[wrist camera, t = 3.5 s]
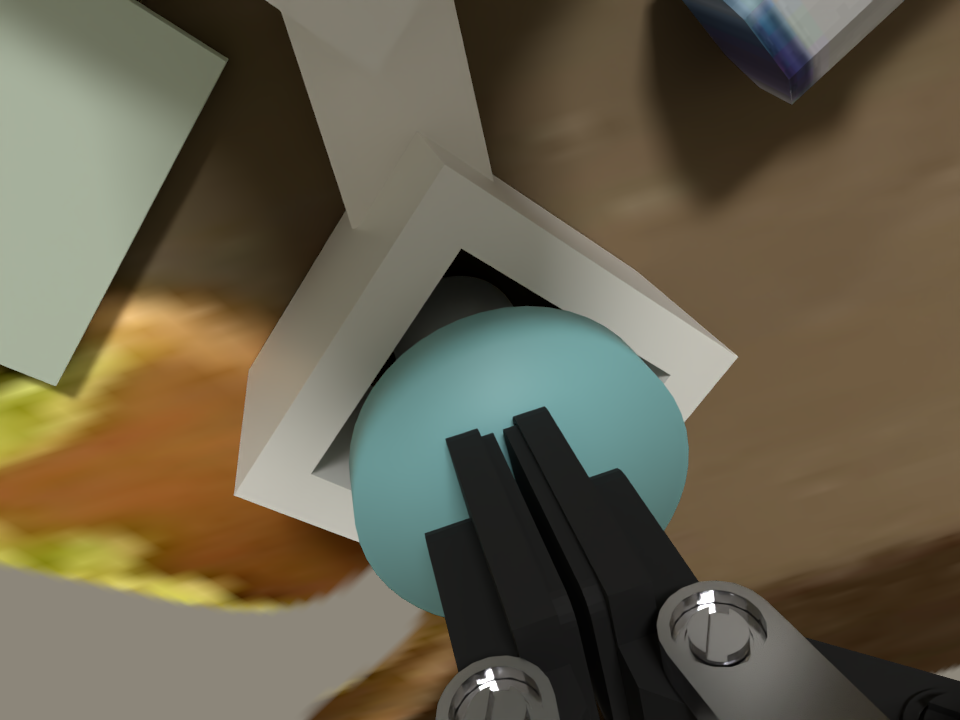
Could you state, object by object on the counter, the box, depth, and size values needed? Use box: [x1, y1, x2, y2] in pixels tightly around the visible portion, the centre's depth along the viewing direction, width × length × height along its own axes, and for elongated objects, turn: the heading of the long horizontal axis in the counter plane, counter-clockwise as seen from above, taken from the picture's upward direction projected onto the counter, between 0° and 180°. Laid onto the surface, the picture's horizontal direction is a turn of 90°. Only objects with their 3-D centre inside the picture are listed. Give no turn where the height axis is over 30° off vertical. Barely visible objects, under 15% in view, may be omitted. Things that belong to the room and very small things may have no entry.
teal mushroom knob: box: [349, 276, 689, 617], centre depth 15 cm, size 6×6×6 cm
